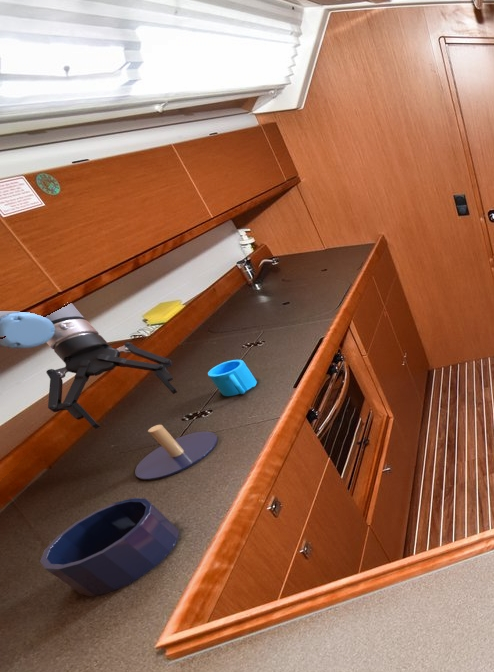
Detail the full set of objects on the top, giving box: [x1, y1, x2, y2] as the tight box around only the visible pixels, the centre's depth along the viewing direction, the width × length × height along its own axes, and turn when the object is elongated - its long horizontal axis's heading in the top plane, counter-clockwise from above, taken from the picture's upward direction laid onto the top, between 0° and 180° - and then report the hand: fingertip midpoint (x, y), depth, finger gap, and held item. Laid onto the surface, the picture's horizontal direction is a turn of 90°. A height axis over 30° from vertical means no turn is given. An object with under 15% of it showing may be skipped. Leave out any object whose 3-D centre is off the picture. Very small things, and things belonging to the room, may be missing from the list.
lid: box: [134, 424, 219, 481], centre depth 100 cm, size 15×15×10 cm
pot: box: [39, 497, 180, 597], centre depth 78 cm, size 14×14×10 cm
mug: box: [207, 359, 258, 397], centre depth 122 cm, size 12×8×8 cm
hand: (137, 408), depth 100 cm, fingers open, 13 cm apart
